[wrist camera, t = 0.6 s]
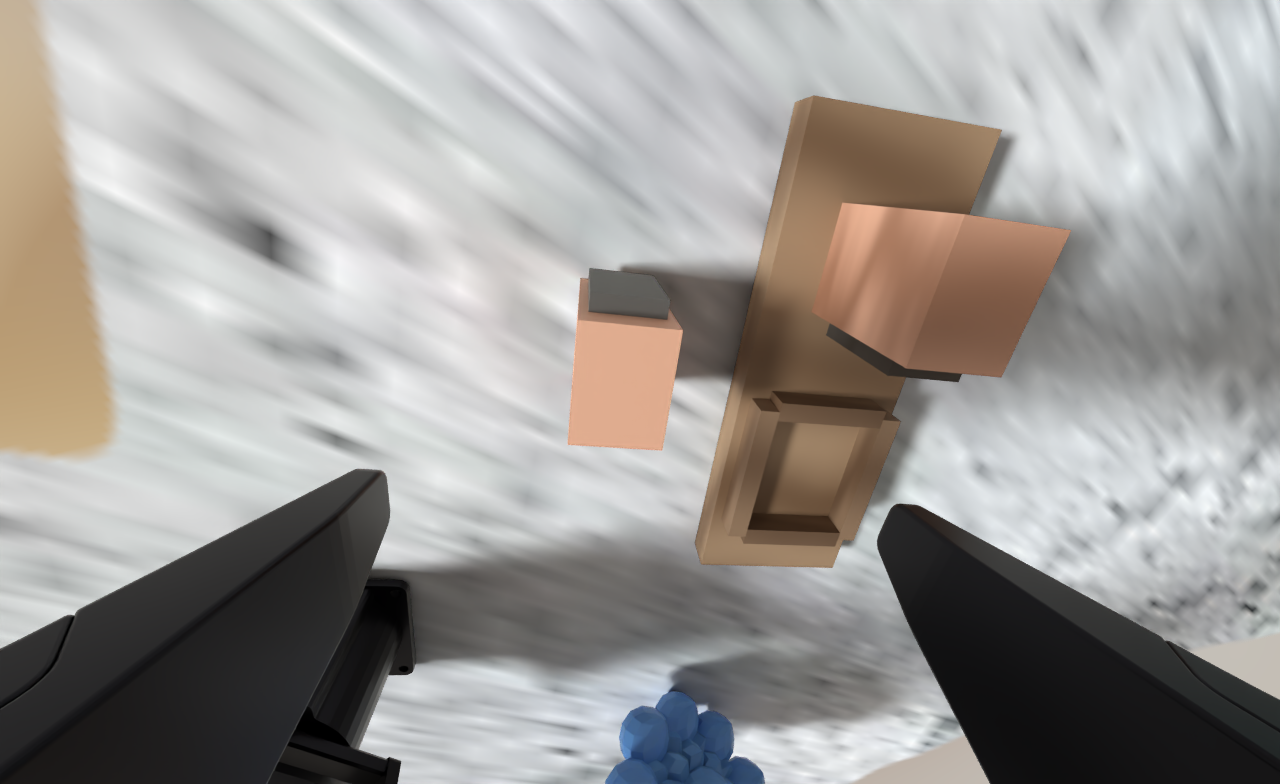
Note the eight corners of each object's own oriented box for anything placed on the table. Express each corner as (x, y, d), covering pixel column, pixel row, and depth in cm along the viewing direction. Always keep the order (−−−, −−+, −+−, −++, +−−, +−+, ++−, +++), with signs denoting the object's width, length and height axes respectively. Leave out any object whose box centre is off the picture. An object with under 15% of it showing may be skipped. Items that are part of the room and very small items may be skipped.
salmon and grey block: (642, 378, 20) (662, 450, 15) (572, 372, 20) (567, 444, 15) (657, 271, 19) (686, 309, 13) (581, 262, 18) (579, 298, 13)
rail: (819, 547, 26) (903, 680, 19) (694, 543, 25) (736, 682, 18) (970, 133, 18) (1209, 105, 11) (795, 102, 17) (938, 49, 10)
